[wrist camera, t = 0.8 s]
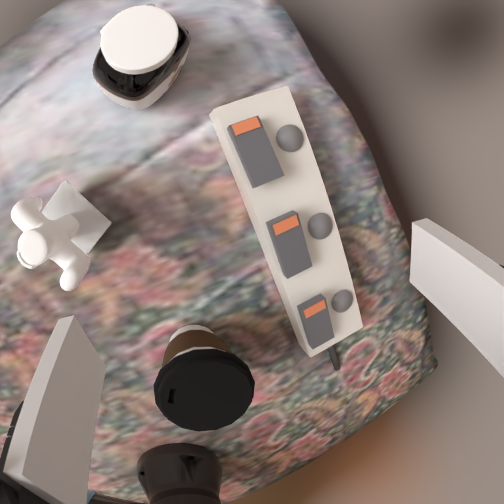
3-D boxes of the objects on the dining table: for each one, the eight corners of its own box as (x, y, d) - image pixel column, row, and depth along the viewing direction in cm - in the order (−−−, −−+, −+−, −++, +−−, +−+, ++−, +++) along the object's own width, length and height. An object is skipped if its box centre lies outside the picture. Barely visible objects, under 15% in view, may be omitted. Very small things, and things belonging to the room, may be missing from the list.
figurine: (67, 173, 32) (14, 173, 18) (123, 224, 35) (100, 255, 21) (34, 219, 32) (-28, 246, 18) (87, 269, 35) (52, 322, 21)
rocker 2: (330, 332, 42) (335, 338, 40) (308, 344, 41) (313, 350, 40) (320, 293, 38) (326, 298, 37) (296, 305, 38) (301, 311, 37)
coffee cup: (147, 371, 40) (149, 430, 29) (159, 300, 39) (161, 349, 27) (222, 380, 44) (243, 435, 33) (241, 313, 42) (270, 361, 31)
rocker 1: (307, 262, 38) (313, 266, 37) (283, 274, 38) (288, 279, 36) (292, 210, 35) (298, 213, 34) (265, 222, 34) (270, 225, 33)
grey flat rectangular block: (280, 176, 34) (285, 175, 32) (252, 188, 33) (255, 187, 32) (255, 118, 32) (258, 114, 31) (226, 128, 32) (228, 125, 30)
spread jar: (143, 124, 33) (135, 102, 22) (73, 79, 29) (42, 45, 18) (204, 49, 33) (223, 5, 22) (135, 8, 29) (131, -43, 18)
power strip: (358, 354, 50) (372, 367, 46) (313, 381, 49) (324, 396, 45) (275, 93, 36) (288, 84, 32) (208, 115, 35) (214, 107, 31)
